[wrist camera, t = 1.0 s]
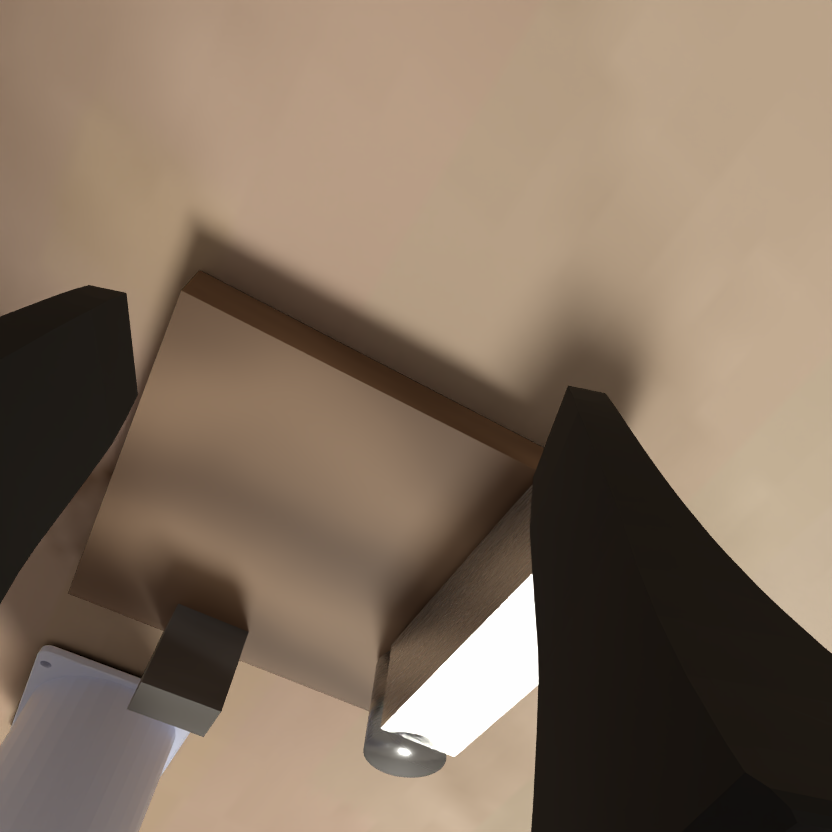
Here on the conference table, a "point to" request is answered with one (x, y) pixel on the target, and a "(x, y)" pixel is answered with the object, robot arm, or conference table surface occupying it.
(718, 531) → the conference table surface
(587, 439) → the robot arm
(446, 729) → the folding leg
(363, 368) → the stool seat
